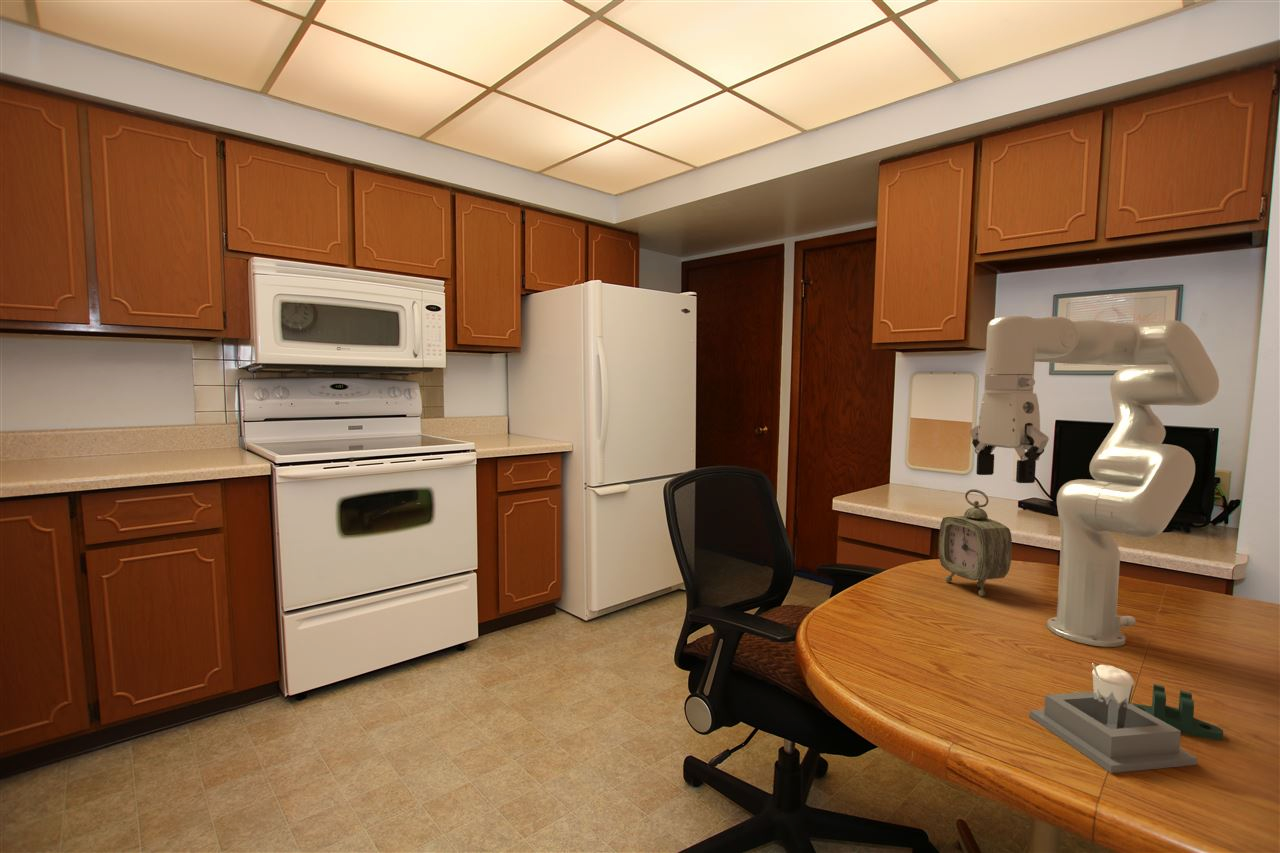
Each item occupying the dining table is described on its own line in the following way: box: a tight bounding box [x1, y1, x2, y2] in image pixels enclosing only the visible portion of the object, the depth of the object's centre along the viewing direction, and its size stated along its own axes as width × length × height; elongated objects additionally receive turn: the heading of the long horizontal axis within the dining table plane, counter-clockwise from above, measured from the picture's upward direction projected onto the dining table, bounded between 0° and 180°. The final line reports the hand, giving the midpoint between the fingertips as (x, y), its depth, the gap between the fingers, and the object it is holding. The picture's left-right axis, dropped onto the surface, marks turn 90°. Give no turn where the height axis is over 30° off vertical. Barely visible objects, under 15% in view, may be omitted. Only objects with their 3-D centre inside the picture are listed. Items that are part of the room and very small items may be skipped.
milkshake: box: [1091, 662, 1135, 729], centre depth 82 cm, size 4×5×10 cm
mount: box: [1130, 683, 1224, 741], centre depth 86 cm, size 11×4×5 cm, turn 51°
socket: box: [1029, 690, 1198, 774], centre depth 82 cm, size 13×13×4 cm
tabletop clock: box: [938, 488, 1013, 597], centre depth 144 cm, size 14×9×25 cm, turn 14°
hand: (1004, 478), depth 106 cm, fingers open, 9 cm apart
